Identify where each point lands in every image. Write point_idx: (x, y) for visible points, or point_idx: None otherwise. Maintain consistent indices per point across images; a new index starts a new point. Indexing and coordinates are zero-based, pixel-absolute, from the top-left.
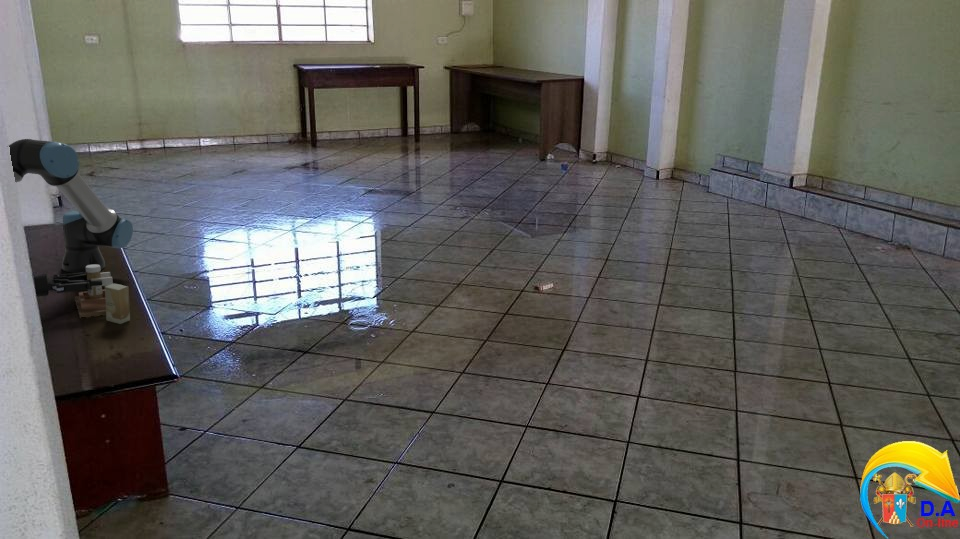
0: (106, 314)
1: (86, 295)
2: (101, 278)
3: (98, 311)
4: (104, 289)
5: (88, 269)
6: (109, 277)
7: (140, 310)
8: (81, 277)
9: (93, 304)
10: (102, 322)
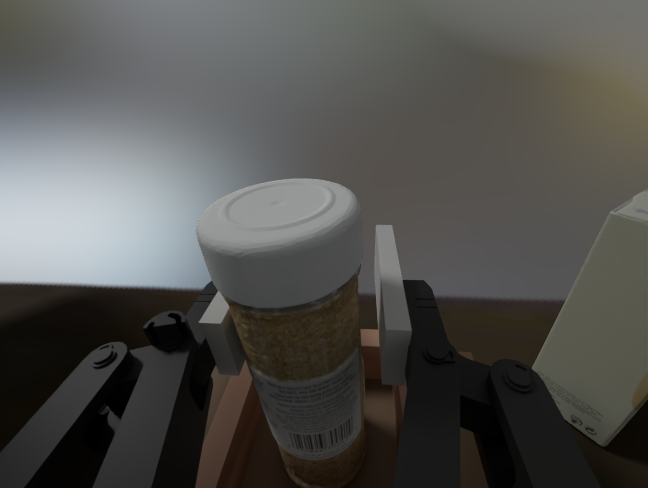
0: (624, 424)
1: (228, 480)
2: (399, 266)
3: None
4: None
5: (336, 252)
6: (388, 233)
7: (435, 298)
8: (183, 419)
9: None
10: (643, 483)
